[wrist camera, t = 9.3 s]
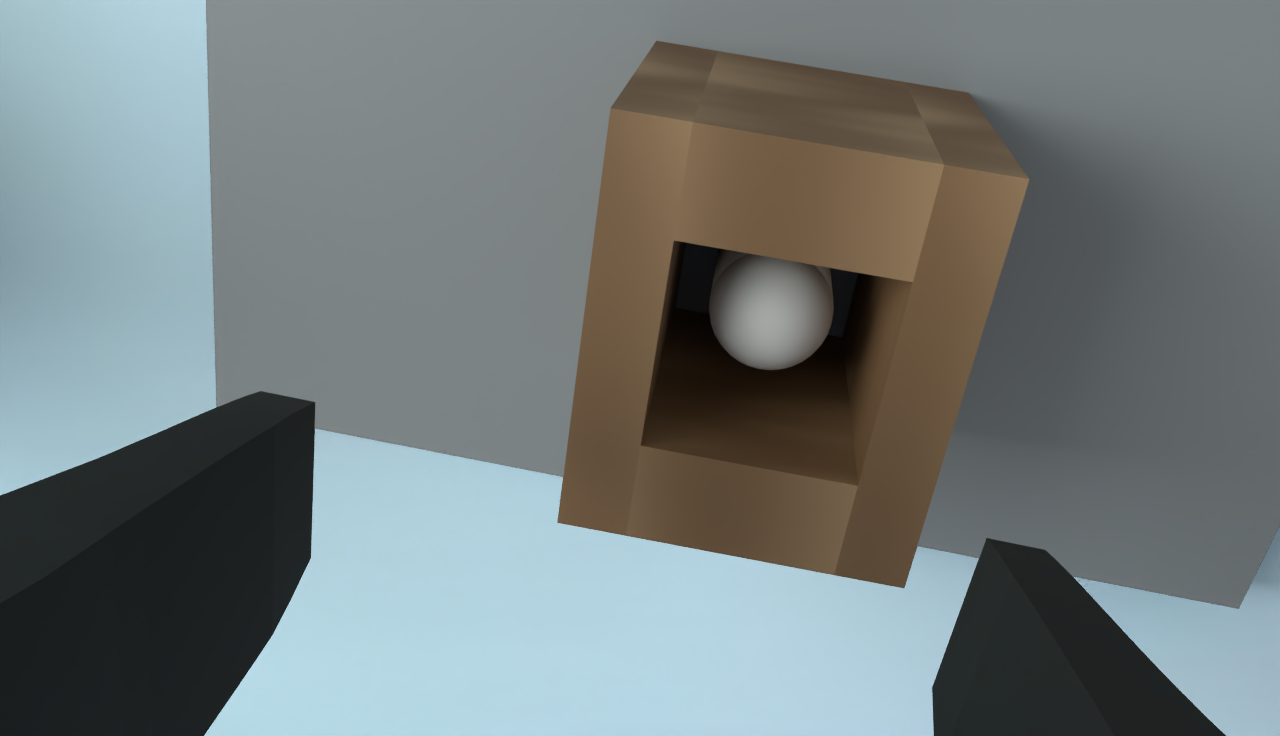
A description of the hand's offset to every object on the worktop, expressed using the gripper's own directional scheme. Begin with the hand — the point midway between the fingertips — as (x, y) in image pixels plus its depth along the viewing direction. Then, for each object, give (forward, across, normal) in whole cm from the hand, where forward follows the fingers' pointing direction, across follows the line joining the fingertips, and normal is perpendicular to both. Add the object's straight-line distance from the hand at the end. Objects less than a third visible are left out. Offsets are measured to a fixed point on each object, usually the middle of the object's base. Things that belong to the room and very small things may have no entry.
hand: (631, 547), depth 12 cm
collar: (+8, -1, -1) cm, 9 cm away
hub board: (+9, -1, -2) cm, 10 cm away
